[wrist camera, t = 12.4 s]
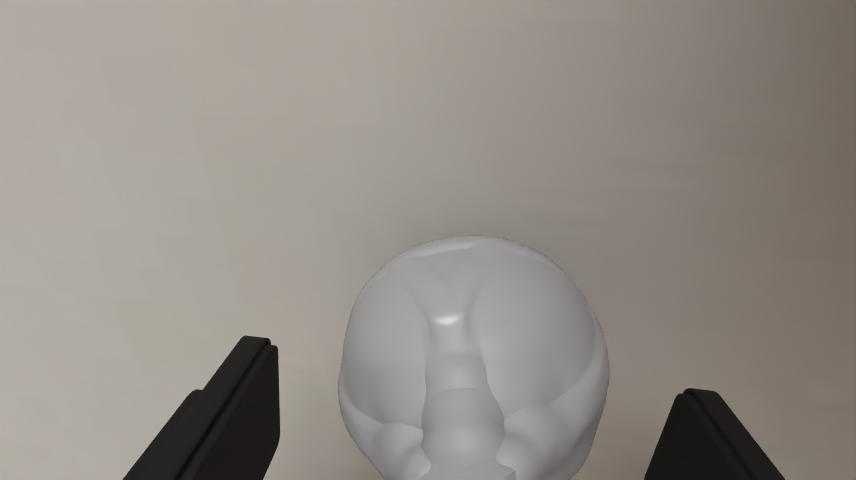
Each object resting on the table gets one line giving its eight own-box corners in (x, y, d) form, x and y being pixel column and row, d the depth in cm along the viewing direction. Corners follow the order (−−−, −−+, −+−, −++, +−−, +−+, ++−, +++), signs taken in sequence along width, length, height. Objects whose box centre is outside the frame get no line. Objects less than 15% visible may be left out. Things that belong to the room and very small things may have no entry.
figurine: (395, 404, 16) (344, 701, 9) (339, 223, 14) (200, 431, 6) (584, 379, 15) (701, 687, 8) (562, 181, 13) (705, 365, 5)
